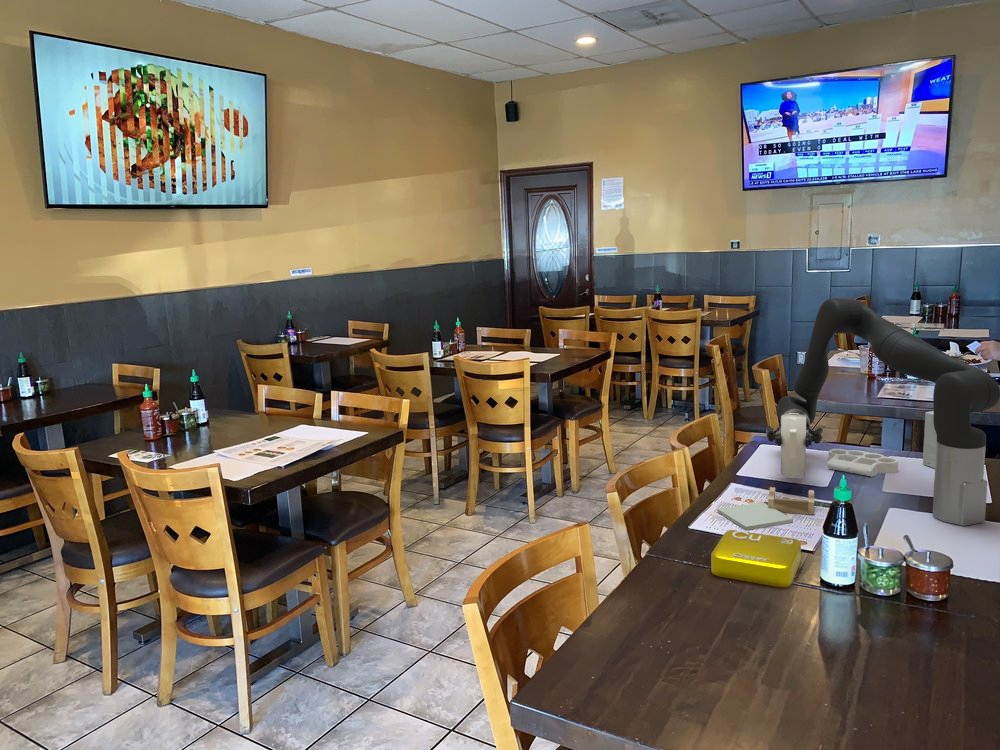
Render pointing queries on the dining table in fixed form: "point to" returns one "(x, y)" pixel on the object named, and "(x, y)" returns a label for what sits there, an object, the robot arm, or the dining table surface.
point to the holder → (791, 503)
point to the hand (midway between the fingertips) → (793, 442)
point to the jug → (793, 445)
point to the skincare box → (929, 441)
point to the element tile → (756, 558)
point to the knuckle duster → (861, 462)
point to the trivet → (754, 515)
